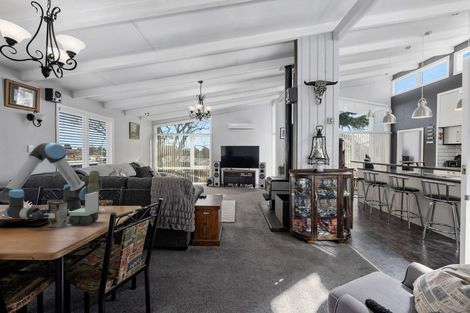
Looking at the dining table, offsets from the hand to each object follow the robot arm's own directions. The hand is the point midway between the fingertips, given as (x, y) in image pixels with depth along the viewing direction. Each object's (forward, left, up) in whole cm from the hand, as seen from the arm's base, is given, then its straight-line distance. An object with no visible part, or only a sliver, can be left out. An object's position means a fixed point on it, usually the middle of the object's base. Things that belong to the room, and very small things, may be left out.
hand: (61, 213), depth 165 cm
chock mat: (-11, -3, -9) cm, 14 cm away
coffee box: (0, -3, -9) cm, 9 cm away
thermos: (-38, -1, -9) cm, 39 cm away
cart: (-7, +11, -9) cm, 15 cm away
